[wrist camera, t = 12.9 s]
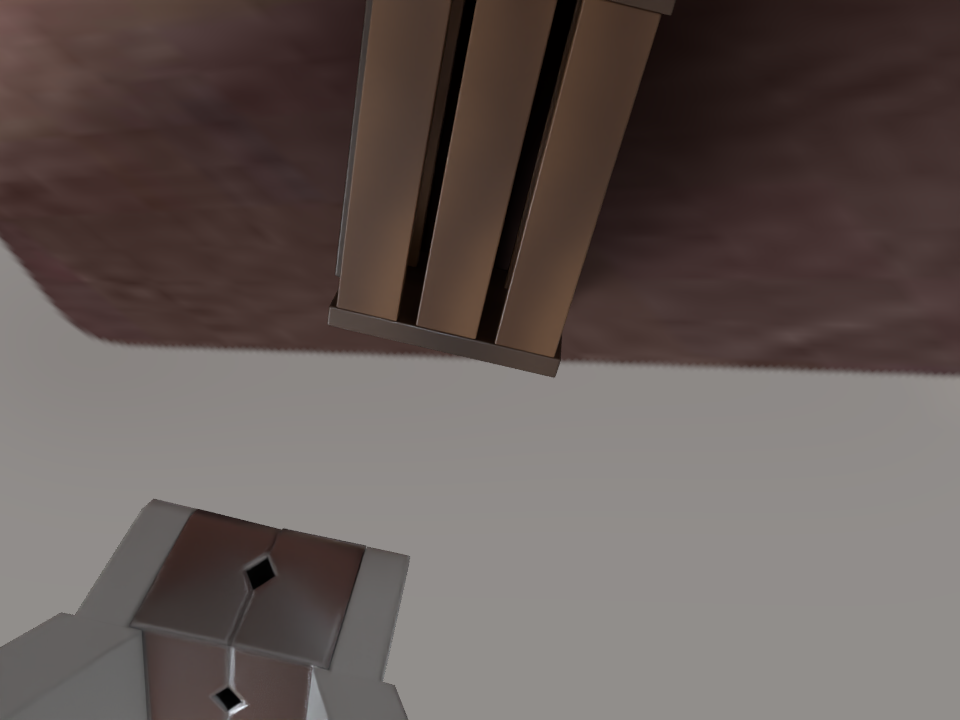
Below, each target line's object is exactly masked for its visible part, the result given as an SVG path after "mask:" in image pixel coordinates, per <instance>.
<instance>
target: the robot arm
mask: <svg viewBox="0 0 960 720" xmlns="http://www.w3.org/2000/svg"><path fill="white" fill-rule="evenodd" d="M409 559H410V556H407V555H403V554H398V553H394V552H390V551H385V550H380V549H376V548H371V547H367V549H366V546H365V545H361V544H356V543H351V542H346V541H341V540H336V539H332V538H327V537H322V536H317V535H312V534H307V533H302V532H298V531H293V530H288V529H282V530H281V529H277V528H273V527H269V526H265V525H260V524H257V523H253V522H248V521H245V520H241V519H237V518H232V517H229V516H225V515H221V514H216V513H213V512H208V511H204V510H200V509H195V508H191V507H186V506H182V505H178V504H173V503H169V502H165V501H161V500H157V499H153V500H152V501H151V502H149V503H148V504H147V505H146V506H145V507H144V508H143V509H142V510H141V511H140V513H139V514H138V516H137V518H136V519H135V521H134V522H133V524H132V525H131V527H130V529H129V530H128V532H127V533H126V535H125V537H124V538H123V540H122V541H121V543H120V544H119V546H118V547H117V549H116V551H115V552H114V554H113V555H112V557H111V558H110V560H109V562H108V563H107V565H106V566H105V568H104V570H103V571H102V573H101V574H100V576H99V578H98V579H97V581H96V582H95V584H94V586H93V587H92V589H91V590H90V592H89V593H88V595H87V596H86V598H85V600H84V601H83V603H82V604H81V606H80V608H79V609H78V611H77V612H76V614H75V615H71V614H66V613H59V614H57V615H56V616H54V617H52V618H51V619H49V620H47V621H45V622H44V623H42V624H40V625H38V626H37V627H35V628H33V629H32V630H30V631H28V632H26V633H24V634H23V635H21V636H19V637H18V638H16V639H14V640H12V641H10V642H9V643H7V644H5V645H4V646H2V647H0V720H408V718H407V716H406V713H405V710H404V708H403V705H402V703H401V700H400V698H399V695H398V692H397V690H396V687H395V685H392V684H389V683H385V682H383V679H384V674H385V670H386V666H387V661H388V656H389V652H390V648H391V643H392V639H393V634H394V630H395V625H396V621H397V616H398V611H399V607H400V603H401V598H402V594H403V589H404V584H405V580H406V575H407V571H408V566H409Z"/></svg>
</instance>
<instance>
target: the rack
mask: <svg viewBox="0 0 960 720" xmlns="http://www.w3.org/2000/svg"><path fill="white" fill-rule="evenodd" d="M557 1H558V0H476V6H475V11H474V16H473V22H472V27H471V32H470V38H469V43H468V48H467V54H466V59H465V64H464V70H463V75H462V80H461V86H460V91H459V96H458V102H457V107H456V112H455V118H454V123H453V128H452V134H451V139H450V144H449V150H448V155H447V160H446V166H445V171H444V176H443V182H442V187H441V192H440V198H439V203H438V208H437V213H436V219H435V224H434V229H433V235H432V240H431V245H430V251H429V253H427V252H423V251H421V245H422V240H423V234H424V229H425V223H426V218H427V212H428V207H429V201H430V196H431V190H432V184H433V179H434V173H435V168H436V162H437V157H438V151H439V146H440V140H441V135H442V129H443V124H444V118H445V112H446V107H447V101H448V96H449V90H450V85H451V79H452V74H453V68H454V63H455V57H456V52H457V46H458V40H459V35H460V29H461V24H462V18H463V13H464V7H465V2H466V0H366V7H365V16H364V25H363V33H362V42H361V51H360V60H359V68H358V77H357V86H356V94H355V103H354V112H353V121H352V129H351V138H350V147H349V156H348V164H347V173H346V182H345V191H344V199H343V208H342V217H341V226H340V234H339V243H338V252H337V260H336V269H335V276H338V277H340V280H339V289H338V291H337V293H336V295H335V297H334V299H333V300H332V302H331V304H330V306H329V314H328V322H327V323H328V325H329V326H334V327H338V328H342V329H346V330H351V331H355V332H359V333H364V334H368V335H372V336H377V337H381V338H385V339H390V340H394V341H398V342H403V343H407V344H411V345H416V346H420V347H424V348H428V349H433V350H437V351H441V352H446V353H450V354H454V355H459V356H463V357H467V358H472V359H476V360H480V361H485V362H489V363H493V364H498V365H502V366H506V367H511V368H515V369H519V370H523V371H528V372H532V373H537V374H541V375H545V376H549V377H555V376H556V373H557V370H558V367H559V364H560V361H561V344H562V331H563V328H564V325H565V321H566V318H567V315H568V312H569V309H570V306H571V302H572V299H573V296H574V293H575V290H576V286H577V283H578V280H579V277H580V274H581V270H582V267H583V264H584V261H585V258H586V255H587V251H588V248H589V245H590V242H591V239H592V235H593V232H594V229H595V226H596V223H597V219H598V216H599V213H600V210H601V207H602V204H603V200H604V197H605V194H606V191H607V188H608V184H609V181H610V178H611V175H612V172H613V168H614V165H615V162H616V159H617V156H618V153H619V149H620V146H621V143H622V140H623V137H624V133H625V130H626V127H627V124H628V121H629V118H630V114H631V111H632V108H633V105H634V102H635V98H636V95H637V92H638V89H639V86H640V82H641V79H642V76H643V73H644V70H645V67H646V63H647V60H648V57H649V54H650V51H651V47H652V44H653V41H654V38H655V35H656V31H657V28H658V25H659V22H660V19H661V13H662V14H666V15H671V14H672V12H673V8H674V5H675V2H676V0H577V1H576V5H575V9H574V13H573V17H572V21H571V25H570V29H569V33H568V37H567V41H566V45H565V48H564V52H563V56H562V60H561V64H560V68H559V72H558V76H557V80H556V84H555V88H554V92H553V96H552V100H551V104H550V107H549V111H548V115H547V119H546V123H545V127H544V131H543V135H542V139H541V143H540V147H539V151H538V155H537V159H536V162H535V166H534V170H533V174H532V178H531V182H530V186H529V190H528V194H527V198H526V202H525V206H524V210H523V214H522V218H521V221H520V225H519V229H518V233H517V237H516V241H515V245H514V249H513V253H512V257H511V261H510V265H509V269H508V271H504V270H500V269H496V268H493V266H494V262H495V258H496V253H497V249H498V245H499V241H500V237H501V233H502V229H503V224H504V220H505V216H506V212H507V208H508V204H509V200H510V195H511V191H512V187H513V183H514V179H515V175H516V171H517V166H518V162H519V158H520V154H521V150H522V146H523V142H524V138H525V133H526V129H527V125H528V121H529V117H530V113H531V109H532V104H533V100H534V96H535V92H536V88H537V84H538V80H539V75H540V71H541V67H542V63H543V59H544V55H545V51H546V46H547V42H548V38H549V34H550V30H551V26H552V22H553V17H554V13H555V9H556V5H557Z"/></svg>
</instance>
